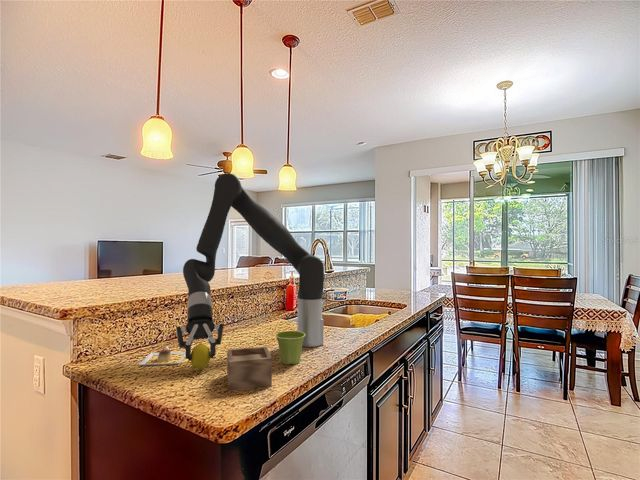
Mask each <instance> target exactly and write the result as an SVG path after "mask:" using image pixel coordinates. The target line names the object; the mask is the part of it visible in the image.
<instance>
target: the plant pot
mask: <svg viewBox="0 0 640 480" xmlns="http://www.w3.org/2000/svg"><path fill="white" fill-rule="evenodd" d="M304 337H305V333H303V332H298V331H297V330H287V331H280V332H277V333H276V334H275V338H276V341H277V343H278V350H279V351H278V352H279V358H280V360H279V361H280V362H281V364H283V365H298V364H299V363H300V362H301V357H302V356H301V355H302V349H303V346H302V343H303V340H304Z"/></svg>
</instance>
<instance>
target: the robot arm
mask: <svg viewBox="0 0 640 480" xmlns="http://www.w3.org/2000/svg"><path fill="white" fill-rule="evenodd" d="M231 208H233V210H235V211H236V212H237V213H239V215H240V216H242V218H243V219H244V220H245V222H246V223H247V225H249V226H250V227H251V229H252V230H253V231H254V232H255V233H256V234H257V235H258V236H259V237H260V238H261V239H262V240H263V241H264V242H265V243H266V244H268V245H269V246H270V247H271V248H272V249H274V250H275V251H276V252H278V253H279V254H280V255H282V257H284V258H285V259H286V260H287V261H288V262H289V263H290V265H291V266H292V268H294V269H295V271H296V272H297V273H298V275H299V279H298V280H299V282H298V290H297V324H296V325H297V326H296V327H297V330H296V331H298V332H303V333H305V337H304V340H303V343H302V348H303V347H304V348H305V347H306V348H316V347H319V346H323V345H324V326H325V325H324V321H325V319H324V318H323V292H324V285H325V284H324V282H325V267H324V263H323V261H322V259H320V258H319V257H318V256H315V255H312V254H310V252H308V251H307V250H306V249H305V248H304V247H302V246H301V245H300V244H299V243H298V242H297V241H296V240H295V237H293V235H292V233H290V231H289V230H288V229H287V227H286V226H285V224H284V223H282V222H281V221H280V220H279V219H278V218H277V217H276V216H275V215H274V214H273V213H272V212H270V211H269V210H268V209H266V207H264V206H262V205H261V204H259V203H258V202H256V201H255V200H254V199H253V198H252V197H251V196H250V195H249V194H248V192H247V191H246V190H245V189H244V187H243V186H242V184H241V181H240V179H239V178H238V177H237V176H236V175H235V174H233V173H230V172H226V173H222V174H220V175H219V176H218V177H217V178H216V180H215V183H214V189H213V197H212V202H211V205H210V209H209V212H208V215H207V217H206V220H205V223H204V224H203V225H204V226H203V228H202V231H201V234H200V236H199V239H198V243H196V244H197V245H196V248H195V249H196V252H197V253H199V254H201V255H203V256H204V257H205V261H203V260H199V259H195V258H190V259H188V260H187V261H185V263H184V265H183V267H182V273H183V274H182V276H183V278H184V280H185V283H186V287H187V291H188V293H187V294H188V296H187V297H188V300H187V307H186V308H187V309H186V310H187V317H186V318H187V322H186V323H187V324H186V325H185V326H183V327H181V326H176V332H175V333H176V337H177V342H178V347H179V349H184V350H185V351H186V355H185V359H186V360H188V361H189V362H191V352H192V345H193V343H194V342H195V340H200V339H202V340H204V339H205V340H207V342H208V344H209V345H210V347H209V350H210V359H214V357H215V356H216V354H217V351H216V349H217V348H216V346H217V345H218V346H219V345H221V343H222V338H223V331H224V323H219V324H215V323H214V317H213V302H212V294H211V291H212V290H211V285H210V283H209V282H211V281H212V280H213V278H214V277H215V273H216V258H217V257H216V256H217V253H218V249H219V246H220V242H221V240H222V238H223V234H224V230H225V226H226V221H227V217H228V214H229V212H230V209H231ZM214 330H215V331H216V333H218V334H217V338H216V339H215V337H214V336H213V333H212V332H213V331H214ZM185 332H186V333H187V334H188V338H187V340H186V341H184V337H183V336H184V335H185Z"/></svg>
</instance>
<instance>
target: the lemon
mask: <svg viewBox="0 0 640 480" xmlns="http://www.w3.org/2000/svg"><path fill="white" fill-rule="evenodd" d="M210 362H211V357H210V347H208V345H207V344H204V343H201V342H200V343H198V344H197V345H195V346H194V347H193V348H192V349H191V360H190V363H191V365H192V367H193V368H194V369H197V370H198V371H200V372H201V371H203V369H204V368H206V367H208V365H209V364H210Z"/></svg>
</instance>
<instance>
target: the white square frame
mask: <svg viewBox="0 0 640 480" xmlns="http://www.w3.org/2000/svg"><path fill="white" fill-rule="evenodd" d="M171 354H178V355H181V356H180V358H179V360H178V361H177V362H170V361H171V359H172V360H173V356H172V355H171ZM153 355H154V356H157V358H156V359H157V360H156V361H157V362H160V363H147V361H150V360H151V359H152V358H153V357H154V356H153ZM184 358H186V350H185V351H171V350H170V348H169V347H168V346H166V345H165V346H164V348H163V349H161V350H159V351H158V352H150V353H149V354H148V355H147V356H146V357H144V358H143V360H142V361H140V362H139V364H138V366H140V367H141V366H142V367H143V366H144V367H146V366H165V365H166V366H167V365H179V364H181V362H182V360H184ZM169 360H170V361H169ZM162 362H163V363H162ZM165 362H166V363H165Z"/></svg>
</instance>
